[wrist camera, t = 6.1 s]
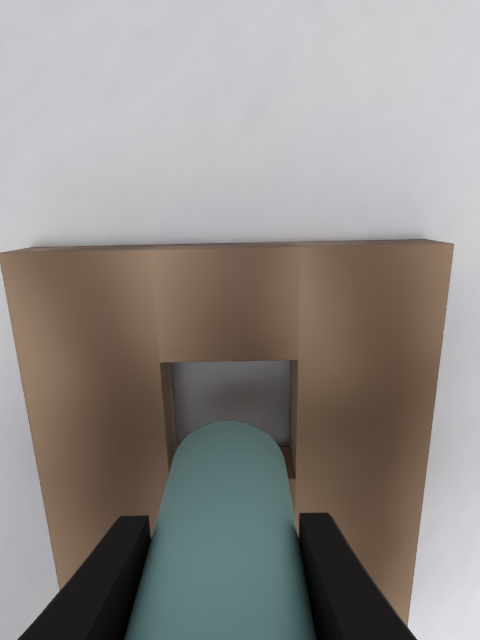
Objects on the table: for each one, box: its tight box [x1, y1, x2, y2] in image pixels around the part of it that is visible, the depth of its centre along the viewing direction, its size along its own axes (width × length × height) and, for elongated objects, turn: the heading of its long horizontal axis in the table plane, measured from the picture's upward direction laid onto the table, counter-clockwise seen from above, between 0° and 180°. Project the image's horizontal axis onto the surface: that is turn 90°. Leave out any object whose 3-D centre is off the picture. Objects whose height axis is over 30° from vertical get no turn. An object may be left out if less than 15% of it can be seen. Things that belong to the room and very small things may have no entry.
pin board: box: [0, 239, 454, 626], centre depth 14 cm, size 14×18×5 cm
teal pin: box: [124, 421, 317, 640], centre depth 7 cm, size 3×3×8 cm
